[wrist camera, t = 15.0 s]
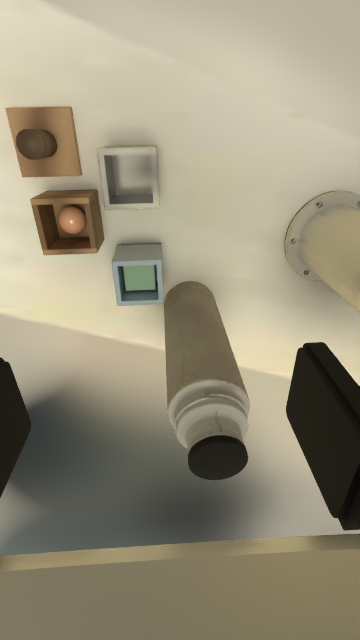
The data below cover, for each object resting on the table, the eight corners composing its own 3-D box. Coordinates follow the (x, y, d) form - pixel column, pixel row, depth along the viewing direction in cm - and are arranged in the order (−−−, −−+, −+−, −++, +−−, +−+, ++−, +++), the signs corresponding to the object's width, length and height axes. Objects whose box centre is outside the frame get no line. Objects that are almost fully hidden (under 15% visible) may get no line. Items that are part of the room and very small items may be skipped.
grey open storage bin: (156, 145, 39) (155, 147, 32) (158, 198, 42) (158, 208, 35) (106, 146, 38) (96, 148, 32) (112, 199, 41) (104, 210, 35)
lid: (72, 107, 36) (57, 103, 31) (82, 174, 40) (70, 180, 35) (9, 108, 36) (-16, 104, 31) (25, 176, 40) (5, 182, 34)
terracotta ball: (86, 203, 41) (81, 208, 38) (90, 229, 42) (85, 236, 40) (59, 204, 41) (52, 209, 38) (65, 230, 42) (58, 237, 39)
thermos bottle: (205, 330, 52) (246, 497, 28) (158, 321, 51) (159, 489, 27) (221, 287, 49) (283, 438, 24) (171, 276, 47) (184, 424, 23)
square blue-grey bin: (160, 243, 45) (161, 260, 39) (162, 282, 48) (163, 303, 42) (117, 244, 44) (111, 261, 38) (122, 284, 47) (117, 305, 41)
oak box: (97, 189, 41) (88, 197, 35) (104, 239, 44) (96, 253, 39) (46, 191, 40) (30, 199, 35) (57, 240, 44) (43, 255, 38)
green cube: (154, 251, 44) (153, 261, 41) (155, 278, 46) (155, 289, 43) (125, 252, 44) (122, 262, 41) (128, 279, 46) (125, 290, 43)
